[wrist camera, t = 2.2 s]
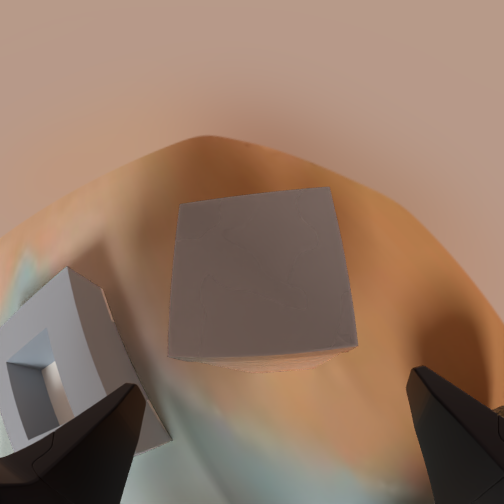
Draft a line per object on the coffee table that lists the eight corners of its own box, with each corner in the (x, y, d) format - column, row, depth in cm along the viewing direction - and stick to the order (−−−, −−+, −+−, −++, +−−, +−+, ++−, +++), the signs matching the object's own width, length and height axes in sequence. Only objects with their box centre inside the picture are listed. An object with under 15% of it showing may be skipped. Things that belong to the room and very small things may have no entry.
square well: (172, 440, 15) (136, 453, 11) (65, 478, 14) (28, 484, 9) (102, 288, 22) (66, 266, 17) (20, 353, 20) (-14, 341, 15)
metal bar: (314, 369, 17) (358, 346, 5) (252, 373, 17) (167, 357, 6) (309, 310, 19) (329, 186, 7) (250, 315, 19) (179, 204, 8)
